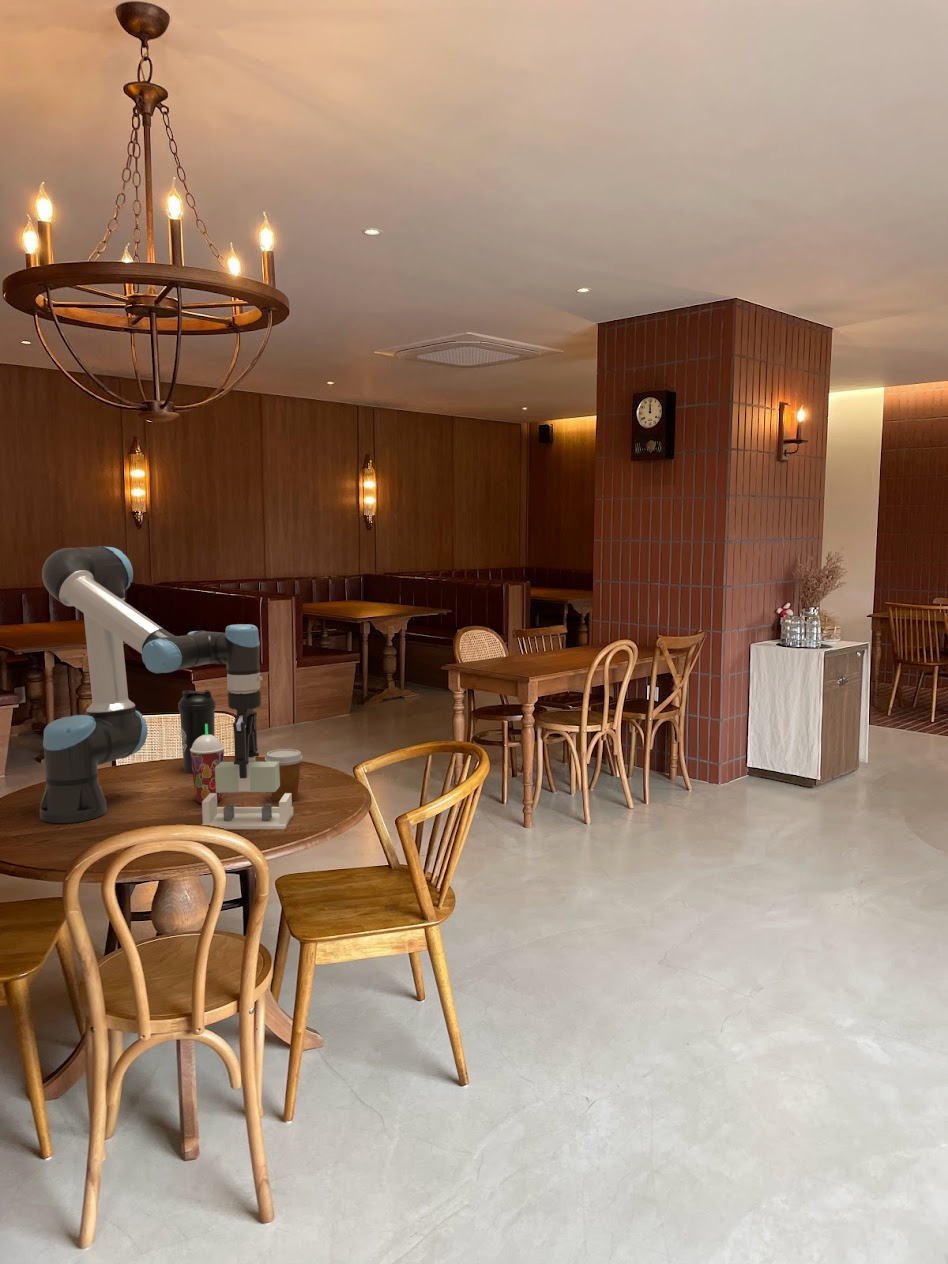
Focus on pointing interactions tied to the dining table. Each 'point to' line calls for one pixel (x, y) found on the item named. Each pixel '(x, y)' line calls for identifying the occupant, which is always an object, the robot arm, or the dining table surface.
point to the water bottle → (195, 720)
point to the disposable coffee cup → (286, 771)
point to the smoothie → (206, 764)
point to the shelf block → (261, 777)
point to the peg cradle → (247, 814)
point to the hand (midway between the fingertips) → (247, 787)
